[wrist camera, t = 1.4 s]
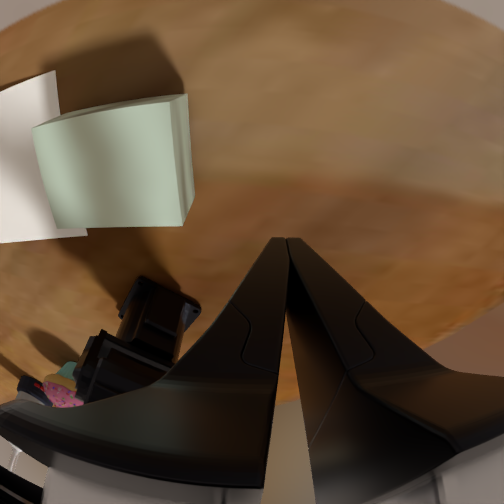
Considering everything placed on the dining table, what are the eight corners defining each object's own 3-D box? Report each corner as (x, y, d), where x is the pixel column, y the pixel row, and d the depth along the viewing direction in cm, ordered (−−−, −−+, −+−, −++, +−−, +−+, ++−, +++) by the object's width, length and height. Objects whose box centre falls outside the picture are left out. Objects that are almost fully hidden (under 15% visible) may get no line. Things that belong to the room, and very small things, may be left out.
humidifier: (47, 383, 41) (9, 499, 21) (60, 403, 46) (31, 507, 26) (15, 370, 41) (-25, 477, 20) (30, 391, 45) (-2, 488, 25)
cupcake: (99, 391, 40) (79, 456, 30) (52, 366, 37) (27, 430, 27) (111, 372, 36) (88, 449, 26) (57, 343, 33) (25, 418, 23)
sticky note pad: (189, 92, 17) (169, 101, 13) (196, 191, 21) (182, 226, 17) (70, 111, 17) (31, 128, 13) (87, 197, 21) (57, 228, 17)
